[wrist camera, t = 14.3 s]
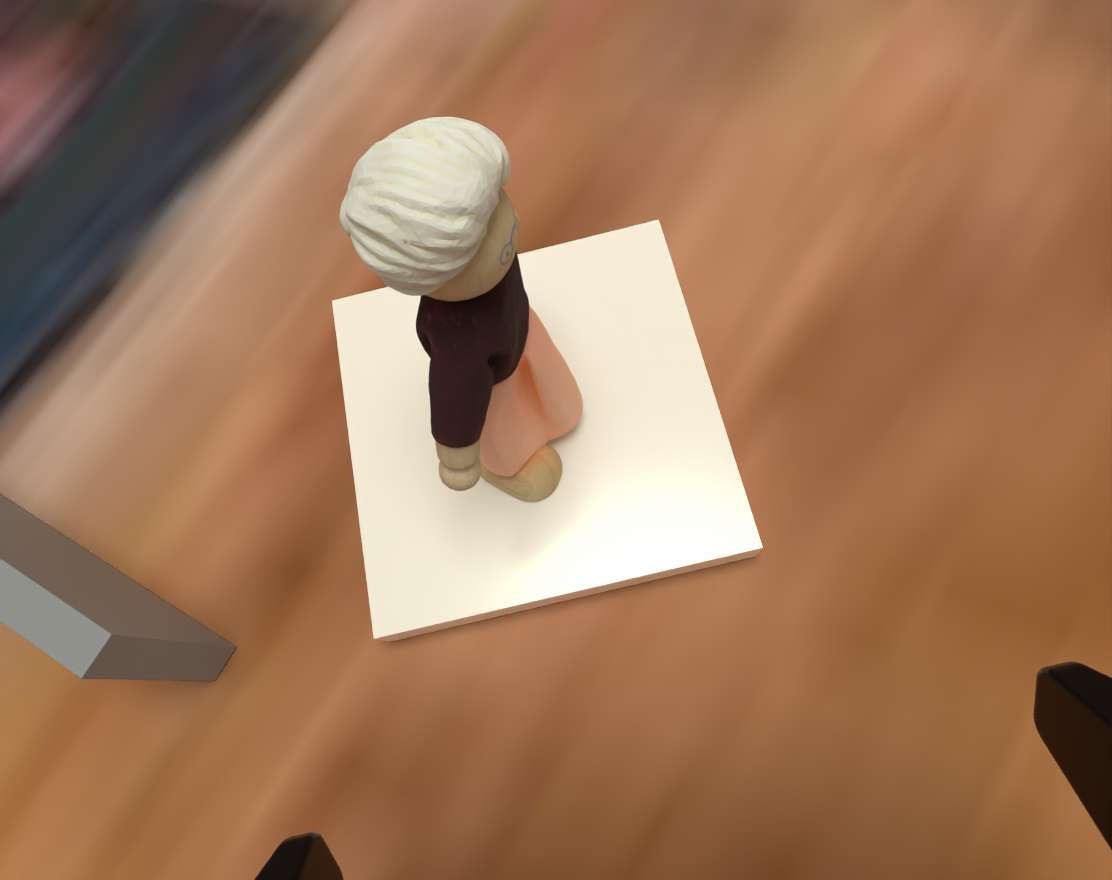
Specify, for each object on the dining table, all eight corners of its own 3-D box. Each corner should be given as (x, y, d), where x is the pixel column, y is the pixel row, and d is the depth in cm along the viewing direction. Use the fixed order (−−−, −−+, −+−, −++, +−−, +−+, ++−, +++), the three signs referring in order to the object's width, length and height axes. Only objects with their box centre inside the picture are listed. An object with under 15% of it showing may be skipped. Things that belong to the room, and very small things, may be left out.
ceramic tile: (754, 556, 23) (762, 547, 22) (389, 641, 23) (374, 638, 22) (657, 244, 27) (658, 219, 26) (347, 320, 27) (332, 300, 26)
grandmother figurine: (595, 527, 22) (549, 341, 10) (473, 539, 23) (290, 371, 11) (574, 307, 25) (516, -46, 13) (464, 320, 25) (308, -12, 13)
